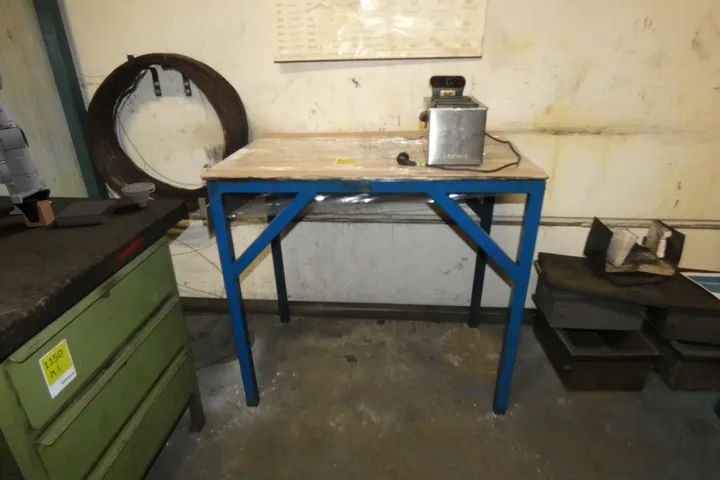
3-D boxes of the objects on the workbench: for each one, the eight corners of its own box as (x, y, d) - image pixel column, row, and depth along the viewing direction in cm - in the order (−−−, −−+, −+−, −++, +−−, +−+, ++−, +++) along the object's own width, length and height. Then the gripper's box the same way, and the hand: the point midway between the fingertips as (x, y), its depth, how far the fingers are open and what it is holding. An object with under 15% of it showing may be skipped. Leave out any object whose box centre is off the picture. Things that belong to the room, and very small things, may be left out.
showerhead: (132, 178, 136) (160, 180, 134) (138, 199, 139) (164, 201, 137) (111, 188, 128) (140, 189, 126) (117, 210, 131) (146, 212, 129)
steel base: (75, 211, 130) (72, 202, 129) (117, 208, 132) (114, 199, 131) (58, 226, 120) (54, 217, 118) (103, 223, 122) (100, 213, 120)
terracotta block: (36, 220, 124) (29, 201, 121) (55, 218, 125) (48, 199, 122) (27, 227, 120) (20, 207, 117) (47, 225, 120) (39, 205, 118)
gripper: (25, 179, 110) (43, 227, 116) (51, 164, 123) (66, 208, 129) (-5, 181, 109) (14, 229, 115) (24, 166, 122) (40, 210, 128)
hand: (40, 218), depth 122 cm, fingers closed on terracotta block, 5 cm apart
